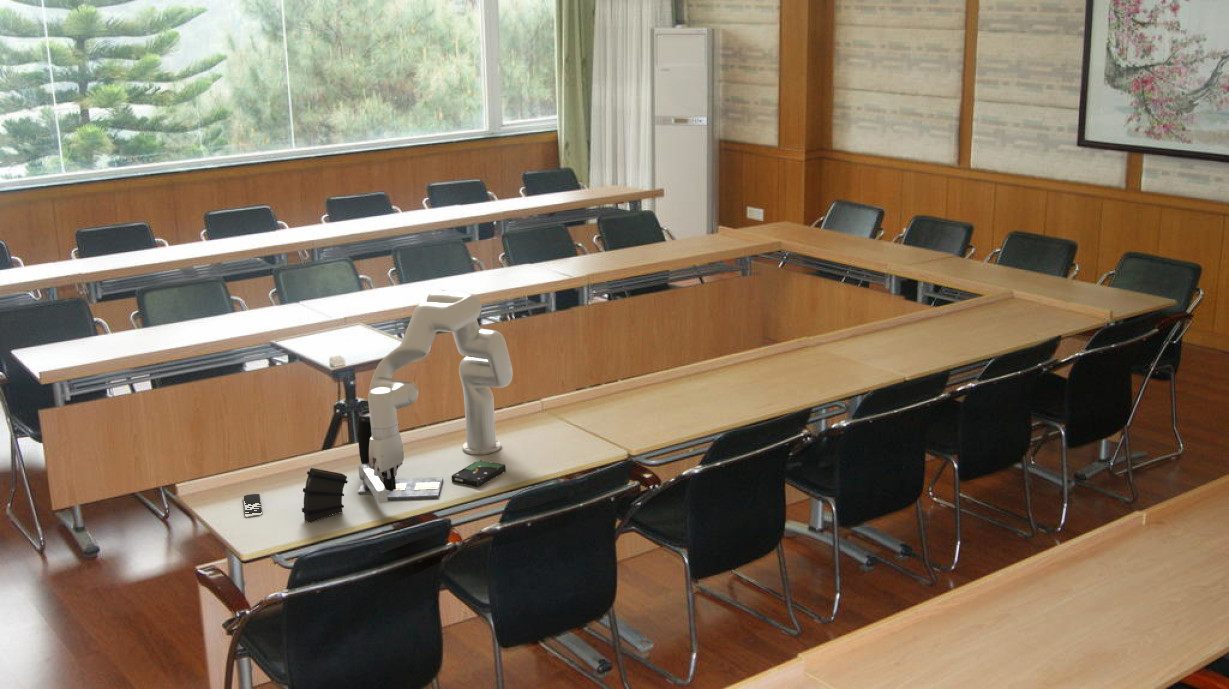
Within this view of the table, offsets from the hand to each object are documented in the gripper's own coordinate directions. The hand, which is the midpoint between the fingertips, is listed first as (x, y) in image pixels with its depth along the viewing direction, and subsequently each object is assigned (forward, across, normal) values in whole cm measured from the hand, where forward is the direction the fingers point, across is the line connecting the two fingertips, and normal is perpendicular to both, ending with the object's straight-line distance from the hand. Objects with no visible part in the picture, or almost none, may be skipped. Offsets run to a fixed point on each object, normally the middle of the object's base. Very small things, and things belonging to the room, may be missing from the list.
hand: (390, 489), depth 348 cm
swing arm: (+2, -1, -8) cm, 8 cm away
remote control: (+6, +20, -37) cm, 42 cm away
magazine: (+6, +13, -13) cm, 19 cm away
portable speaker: (+6, -18, -24) cm, 31 cm away
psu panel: (+6, -13, -4) cm, 15 cm away
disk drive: (+7, -31, +7) cm, 33 cm away
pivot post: (+6, -6, -16) cm, 18 cm away
